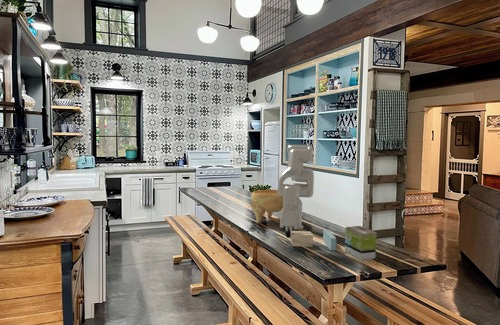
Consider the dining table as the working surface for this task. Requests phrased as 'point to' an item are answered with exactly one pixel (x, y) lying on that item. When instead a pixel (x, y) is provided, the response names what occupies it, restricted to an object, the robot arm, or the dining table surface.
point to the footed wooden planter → (266, 203)
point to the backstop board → (329, 239)
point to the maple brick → (301, 238)
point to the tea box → (360, 242)
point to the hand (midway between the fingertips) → (288, 237)
